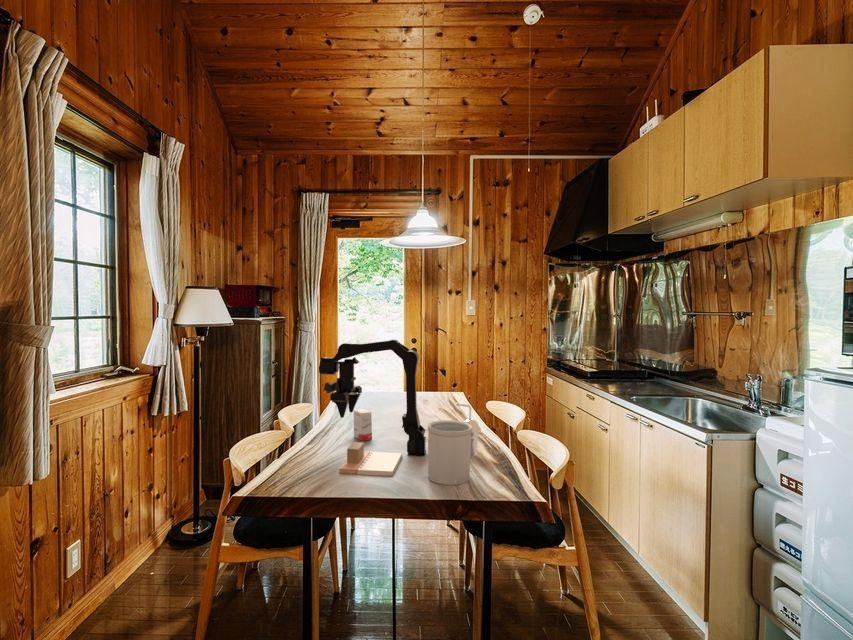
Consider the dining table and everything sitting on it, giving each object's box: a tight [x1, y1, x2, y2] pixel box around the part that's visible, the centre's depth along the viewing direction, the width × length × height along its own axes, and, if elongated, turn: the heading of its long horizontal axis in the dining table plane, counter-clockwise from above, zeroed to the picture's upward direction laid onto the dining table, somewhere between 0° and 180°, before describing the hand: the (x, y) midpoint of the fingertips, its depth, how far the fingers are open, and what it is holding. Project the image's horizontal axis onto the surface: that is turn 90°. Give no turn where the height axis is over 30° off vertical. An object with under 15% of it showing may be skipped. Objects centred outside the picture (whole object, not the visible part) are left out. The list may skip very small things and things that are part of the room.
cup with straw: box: [456, 403, 482, 458], centre depth 179 cm, size 8×9×20 cm
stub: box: [338, 441, 371, 475], centre depth 168 cm, size 6×20×6 cm, turn 174°
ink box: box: [353, 408, 373, 441], centre depth 201 cm, size 9×5×12 cm, turn 33°
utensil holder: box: [427, 419, 472, 486], centre depth 155 cm, size 15×15×18 cm
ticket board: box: [356, 451, 403, 477], centre depth 167 cm, size 12×20×2 cm, turn 174°
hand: (346, 414), depth 182 cm, fingers open, 9 cm apart
